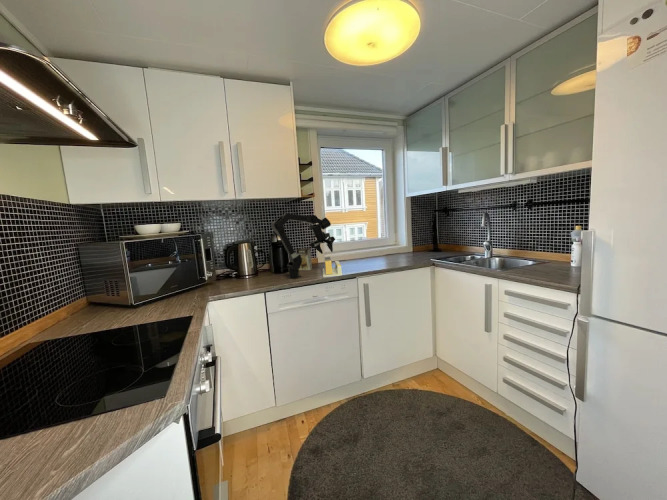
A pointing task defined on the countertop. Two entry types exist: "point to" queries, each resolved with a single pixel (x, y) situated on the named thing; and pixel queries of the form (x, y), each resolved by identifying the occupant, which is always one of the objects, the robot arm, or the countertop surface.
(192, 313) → the countertop surface
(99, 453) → the countertop surface
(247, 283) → the countertop surface
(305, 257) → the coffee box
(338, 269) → the key console
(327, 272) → the ochre key
